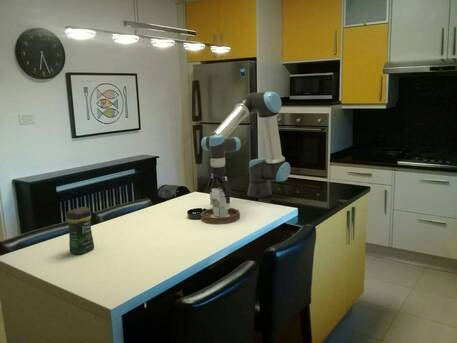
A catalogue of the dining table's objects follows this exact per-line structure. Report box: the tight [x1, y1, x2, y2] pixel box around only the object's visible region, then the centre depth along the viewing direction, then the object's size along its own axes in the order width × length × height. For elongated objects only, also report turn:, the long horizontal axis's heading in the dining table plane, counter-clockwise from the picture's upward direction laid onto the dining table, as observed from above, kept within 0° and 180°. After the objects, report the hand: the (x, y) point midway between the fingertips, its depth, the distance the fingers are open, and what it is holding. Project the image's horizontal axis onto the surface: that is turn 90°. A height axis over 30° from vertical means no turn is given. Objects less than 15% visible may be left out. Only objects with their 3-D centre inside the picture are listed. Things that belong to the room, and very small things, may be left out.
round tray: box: [200, 207, 241, 225], centre depth 209 cm, size 20×20×3 cm
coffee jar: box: [66, 206, 95, 255], centre depth 169 cm, size 10×8×19 cm
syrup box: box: [212, 186, 228, 217], centre depth 208 cm, size 6×6×14 cm
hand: (219, 206), depth 209 cm, fingers open, 13 cm apart
